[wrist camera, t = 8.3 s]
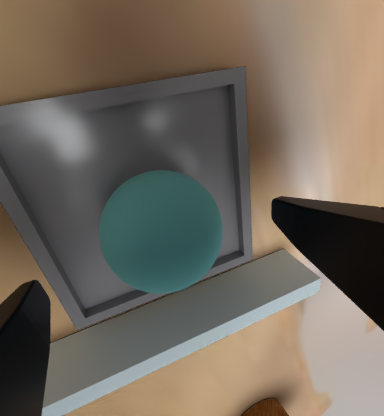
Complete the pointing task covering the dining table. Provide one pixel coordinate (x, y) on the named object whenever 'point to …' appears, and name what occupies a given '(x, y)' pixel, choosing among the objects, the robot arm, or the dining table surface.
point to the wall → (170, 329)
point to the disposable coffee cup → (266, 409)
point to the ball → (160, 231)
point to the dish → (121, 174)
